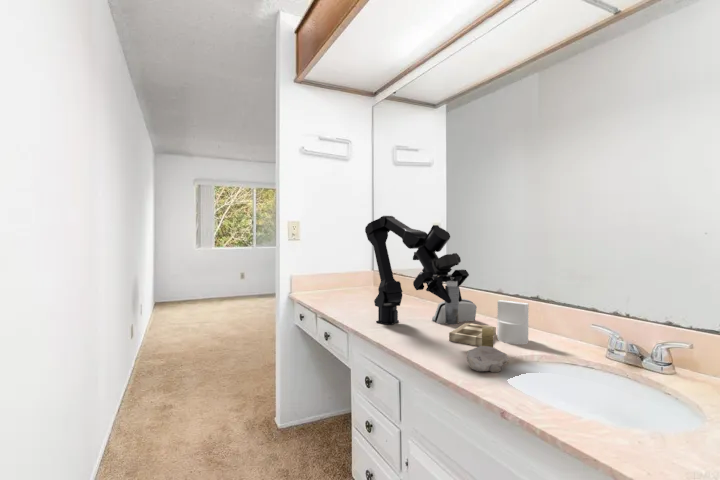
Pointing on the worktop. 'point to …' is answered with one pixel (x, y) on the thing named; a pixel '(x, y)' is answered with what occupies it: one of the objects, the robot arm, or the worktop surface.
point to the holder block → (469, 334)
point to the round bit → (452, 303)
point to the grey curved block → (465, 312)
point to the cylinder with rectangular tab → (512, 322)
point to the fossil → (486, 359)
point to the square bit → (487, 336)
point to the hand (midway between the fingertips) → (455, 301)
